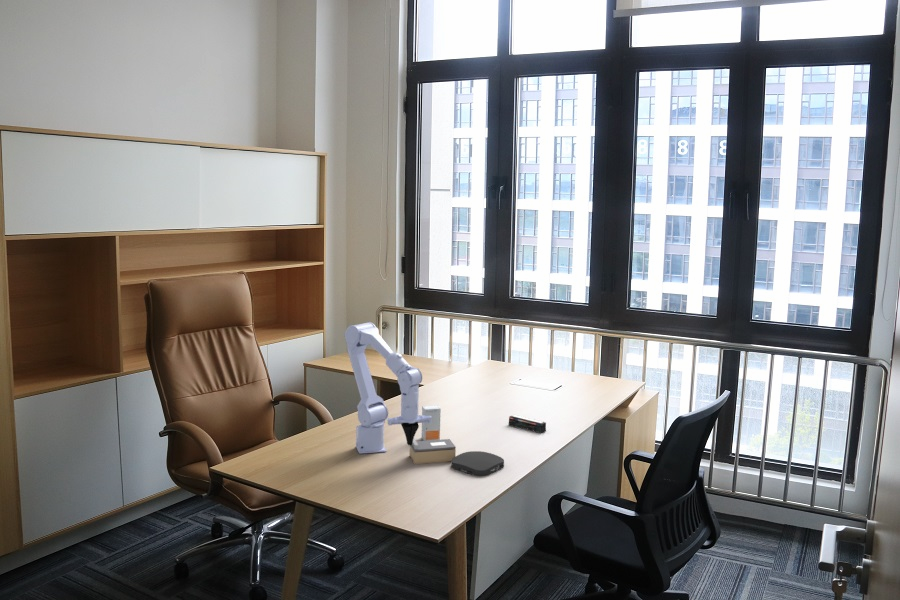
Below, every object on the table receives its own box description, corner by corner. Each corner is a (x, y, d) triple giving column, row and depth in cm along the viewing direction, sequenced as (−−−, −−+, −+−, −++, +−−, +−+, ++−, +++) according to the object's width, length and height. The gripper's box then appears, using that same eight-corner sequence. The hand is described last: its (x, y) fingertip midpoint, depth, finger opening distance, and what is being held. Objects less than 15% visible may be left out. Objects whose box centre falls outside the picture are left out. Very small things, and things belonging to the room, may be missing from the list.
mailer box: (414, 464, 255) (414, 452, 254) (409, 455, 262) (409, 444, 262) (455, 460, 258) (455, 449, 258) (449, 452, 266) (449, 441, 265)
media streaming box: (473, 455, 264) (473, 447, 264) (508, 466, 255) (508, 457, 255) (446, 467, 253) (446, 459, 253) (482, 479, 244) (482, 470, 244)
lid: (414, 451, 254) (414, 445, 254) (409, 443, 262) (409, 437, 262) (455, 448, 258) (455, 442, 257) (449, 440, 265) (449, 435, 265)
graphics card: (541, 439, 283) (542, 428, 282) (486, 425, 298) (486, 414, 298) (561, 430, 294) (562, 419, 294) (507, 416, 310) (507, 406, 309)
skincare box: (424, 441, 277) (424, 409, 275) (421, 437, 281) (421, 406, 279) (440, 440, 278) (440, 408, 277) (437, 436, 282) (437, 404, 281)
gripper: (390, 409, 250) (390, 449, 252) (433, 407, 253) (433, 446, 256) (386, 403, 257) (386, 442, 259) (429, 401, 260) (428, 439, 262)
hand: (409, 444), depth 258 cm, fingers closed
